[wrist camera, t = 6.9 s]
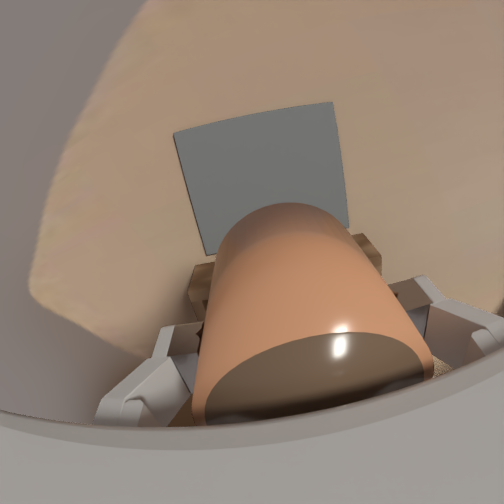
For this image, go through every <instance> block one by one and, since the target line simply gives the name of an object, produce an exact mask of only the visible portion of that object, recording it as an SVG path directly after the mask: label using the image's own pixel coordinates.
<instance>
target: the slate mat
mask: <svg viewBox="0 0 504 504" xmlns="http://www.w3.org/2000/svg"><path fill="white" fill-rule="evenodd" d="M173 134H174V138H175V142H176V146H177V150H178V154H179V157H180V161H181V165H182V169H183V173H184V176H185V180H186V184H187V187H188V191H189V195H190V198H191V202H192V205H193V209H194V213H195V216H196V220H197V223H198V227H199V230H200V234H201V237H202V240H203V244H204V247H205V251H206V254H207V255H210V254H215V253H217V252H218V249H219V246H220V244H221V242H222V240H223V239H224V237H225V235H226V234H227V233H228V232H229V230H230V229H231V228H232V227H233V226H234V225H235V224H236V223H237V222H238V221H239V220H241V219H242V218H243V217H245V216H246V215H248V214H250V213H251V212H253V211H255V210H257V209H260V208H262V207H265V206H269V205H272V204H278V203H303V204H308V205H312V206H315V207H318V208H320V209H322V210H325V211H326V212H328V213H329V214H331V215H333V216H334V217H335V218H336V219H337V220H339V221H340V222H341V224H342V225H343V226H344V227H345V228H349V220H348V209H347V199H346V190H345V181H344V173H343V165H342V158H341V150H340V144H339V137H338V130H337V124H336V118H335V112H334V107H333V102H327V103H319V104H311V105H304V106H297V107H291V108H284V109H278V110H273V111H267V112H261V113H256V114H251V115H246V116H241V117H236V118H232V119H227V120H223V121H218V122H214V123H210V124H206V125H202V126H198V127H194V128H190V129H186V130H183V131H179V132H175V133H173Z"/></svg>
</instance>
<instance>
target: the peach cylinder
mask: <svg viewBox="0 0 504 504" xmlns="http://www.w3.org/2000/svg"><path fill="white" fill-rule="evenodd" d="M433 375H434V362H433V357H432V354H431V352H430V350H429V347H428V346H427V344H426V343H425V341H424V339H423V338H422V336H421V335H420V333H419V331H418V330H417V328H416V327H415V325H414V324H413V322H412V321H411V319H410V318H409V316H408V315H407V313H406V312H405V310H404V309H403V307H402V306H401V304H400V303H399V301H398V300H397V298H396V297H395V295H394V294H393V292H392V291H391V289H390V288H389V287H388V285H387V284H386V282H385V281H384V279H383V278H382V277H381V275H380V274H379V272H378V271H377V270H376V268H375V267H374V265H373V264H372V263H371V261H370V260H369V259H368V257H367V256H366V255H365V253H364V252H363V250H362V249H361V248H360V246H359V245H358V244H357V242H356V241H355V240H354V239H353V237H352V236H351V235H350V233H349V232H348V231H347V229H346V228H345V227H344V226H343V225H342V224H341V222H340V221H339V220H337V219H336V218H335V217H334V216H333V215H331V214H329V213H328V212H326V211H325V210H322V209H320V208H318V207H315V206H312V205H308V204H303V203H278V204H272V205H269V206H265V207H262V208H260V209H257V210H255V211H253V212H251V213H250V214H248V215H246V216H245V217H243V218H242V219H241V220H239V221H238V222H237V223H236V224H235V225H234V226H233V227H232V228H231V229H230V230H229V232H228V233H227V234H226V235H225V237H224V239H223V240H222V242H221V244H220V246H219V249H218V252H217V255H216V260H215V265H214V270H213V276H212V281H211V287H210V293H209V298H208V304H207V310H206V316H205V322H204V328H203V334H202V340H201V346H200V353H199V359H198V365H197V372H196V379H195V385H194V392H193V399H192V416H193V419H194V423H195V424H196V426H209V425H222V424H233V423H243V422H251V421H259V420H267V419H274V418H280V417H286V416H292V415H298V414H304V413H309V412H314V411H319V410H324V409H328V408H333V407H337V406H341V405H346V404H350V403H354V402H358V401H361V400H365V399H369V398H373V397H376V396H380V395H383V394H386V393H390V392H393V391H396V390H399V389H403V388H406V387H409V386H412V385H415V384H418V383H420V382H423V381H426V380H429V379H432V378H433Z"/></svg>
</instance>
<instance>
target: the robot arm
mask: <svg viewBox="0 0 504 504" xmlns="http://www.w3.org/2000/svg"><path fill="white" fill-rule="evenodd" d="M388 287H389V288H390V289H391V291H392V292H393V294H394V295H395V297H396V298H397V300H398V301H399V303H400V304H401V306H402V307H403V309H404V310H405V312H406V313H407V315H408V316H409V318H410V319H411V321H412V322H413V324H414V325H415V327H416V328H417V330H418V331H419V333H420V335H421V336H422V338H423V339H424V341H425V343H426V344H427V346H428V347H429V350H430V352H431V354H432V355H434V356H435V357H437V358H438V359H440V360H442V361H443V362H445V363H446V364H448V365H449V366H451V367H453V368H454V369H455V370H452V371H450V372H447V373H445V374H442V375H440V376H437V377H434V378H432V379H429V380H426V381H423V382H420V383H418V384H415V385H412V386H409V387H406V388H403V389H399V390H396V391H393V392H390V393H386V394H383V395H380V396H376V397H373V398H369V399H365V400H361V401H358V402H354V403H350V404H346V405H341V406H337V407H333V408H328V409H324V410H319V411H314V412H309V413H304V414H298V415H292V416H286V417H280V418H274V419H267V420H259V421H251V422H243V423H233V424H222V425H209V426H192V427H167V425H168V424H169V423H170V422H171V421H172V419H173V418H174V417H175V415H176V414H177V413H178V411H179V410H180V409H181V407H182V406H183V405H184V403H185V402H186V401H187V399H188V398H189V397H190V395H191V393H193V392H194V385H195V379H196V372H197V365H198V359H199V353H200V346H201V340H202V334H203V328H204V321H201V322H194V323H186V324H178V325H170V326H163V327H162V328H161V330H160V333H159V336H158V339H157V342H156V345H155V348H154V351H153V354H152V357H151V358H149V359H146V360H145V361H144V362H143V363H142V364H141V365H140V366H139V367H137V368H136V369H135V370H134V371H133V372H132V373H130V374H129V375H128V376H127V377H126V378H125V379H124V380H122V381H121V382H120V383H119V384H118V385H117V386H116V387H114V388H113V389H112V390H111V391H110V392H109V393H108V394H106V395H105V396H104V397H103V398H102V399H101V401H100V404H99V407H98V409H97V412H96V415H95V417H94V420H93V423H92V424H80V423H72V422H64V421H56V420H49V419H43V418H37V417H32V416H26V415H21V414H16V413H11V412H7V411H3V410H0V504H504V318H503V317H500V316H498V315H495V314H492V313H489V312H487V311H484V310H481V309H479V308H476V307H473V306H470V305H468V304H465V303H462V302H459V301H457V300H454V299H451V298H449V299H446V298H445V297H444V296H443V294H442V293H441V292H440V291H439V290H438V289H437V288H436V286H435V285H434V284H433V283H432V282H431V281H430V280H429V279H428V278H427V277H426V276H425V275H420V276H417V277H413V278H411V279H408V280H404V281H400V282H396V283H393V284H389V285H388Z"/></svg>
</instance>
